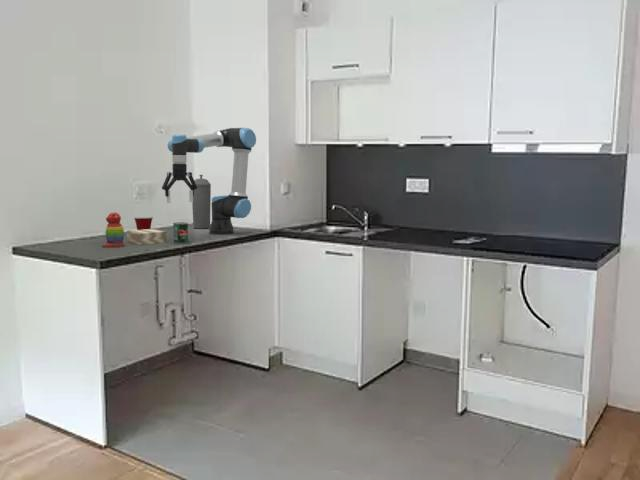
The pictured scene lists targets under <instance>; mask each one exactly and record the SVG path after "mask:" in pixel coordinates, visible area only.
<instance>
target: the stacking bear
mask: <svg viewBox="0 0 640 480" xmlns="http://www.w3.org/2000/svg"><path fill="white" fill-rule="evenodd" d="M121 219H122V216H121V214H120V213H117V212H111V213H108V215H107V217H105V221H106V222H107V224H106V228H105V238H106V242H104V243H103V244H102V248H121V247H124V246H125V243H124V238H125V230H124V227H123V225H122V223H121Z"/></svg>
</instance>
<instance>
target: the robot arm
mask: <svg viewBox="0 0 640 480" xmlns="http://www.w3.org/2000/svg"><path fill="white" fill-rule="evenodd" d="M171 137H172V138H171V139H169V141H167V150H168V151H170V152H171V153H172V154H171V155H172V157H171V158H172V159H171V161H172V165H171V166H172V168H171V169H172V172H171V171H170V172H169V171H168V172H167V173H166V177H165V180H164V182H163V184H162V187H161V189H162V191H164V193H165V194H164V196H165V198H166V203H167V204H171V190H170V189H171V188H172V186H173V185H174V184H175V183H176V182H177V181H179V182H180V181H183V182H184V183H185V184H186V185H187V187H188V188H189V190H188V191H189V193H188V195H189V199H188V200H189V202H191V203H192V202H193V196H194V190H195V189H197V186H196V183H195V181H194V180H195V179H194V176H193V172H191V171H188V172H187V169H188V168H187V167H188V165H187V157H188V156H187V155H188V154H189V153H190V154H191V153H194V154H195V153H196V154H197V153H202V152H203V151H204V150H205V149H206V148H211V147H217V148H224V147H225V148H231V151H233V165H232V178H231V179H232V180H231V192H230V193H229V194H228V195H218V196H216V195H215V196H213V197H211V221H210V228H208V231H209V232H208V233H209V234H211V235H230V234H234V232H235V229H234V227H233V223H232V218H236V219H245V218H247V217H248V216H249V214H250V212H251V210H252V204H251V203H252V202H251V201H250V200H249V199H248V198H249V196H248V194H247V182H248V181H247V178H248V165H249V164H248V163H249V154H250V153H251V152H252V148H254V147H255V145H256V143H257V136H256V134H255V132H254V131H253V129H251V128H248V127H230V128H225V129H221V130H217V131H213V133H207V134H201V135H195V136H188V137H187V135H186V134H172V136H171ZM171 177H172V178H171ZM187 177H188V178H187Z"/></svg>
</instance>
